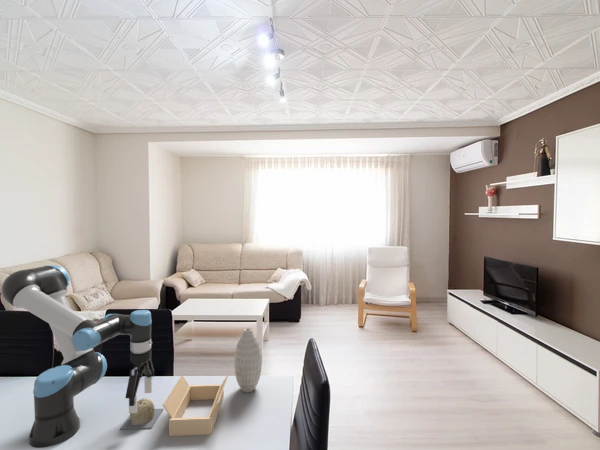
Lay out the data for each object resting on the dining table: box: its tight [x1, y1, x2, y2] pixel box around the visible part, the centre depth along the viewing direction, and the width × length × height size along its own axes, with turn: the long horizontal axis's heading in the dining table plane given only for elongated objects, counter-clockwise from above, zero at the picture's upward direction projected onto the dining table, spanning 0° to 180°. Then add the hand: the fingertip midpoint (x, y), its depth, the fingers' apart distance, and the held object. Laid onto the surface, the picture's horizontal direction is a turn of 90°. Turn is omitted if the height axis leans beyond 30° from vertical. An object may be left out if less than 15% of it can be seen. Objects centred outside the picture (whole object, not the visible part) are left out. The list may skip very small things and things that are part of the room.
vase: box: [233, 328, 263, 393], centre depth 150 cm, size 13×13×28 cm
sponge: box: [129, 397, 156, 425], centre depth 129 cm, size 9×10×10 cm
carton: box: [162, 373, 230, 437], centre depth 131 cm, size 20×24×11 cm
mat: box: [119, 408, 164, 431], centre depth 129 cm, size 12×12×1 cm
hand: (140, 402), depth 129 cm, fingers open, 13 cm apart
